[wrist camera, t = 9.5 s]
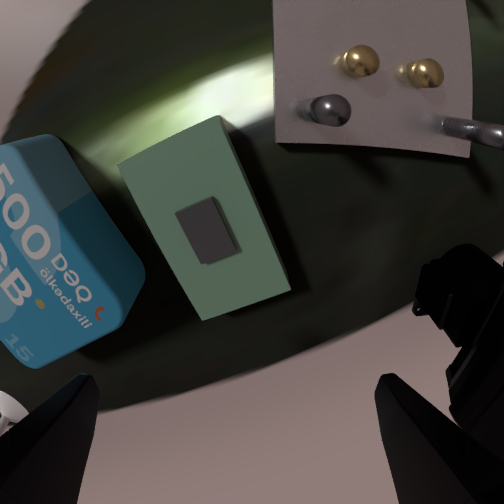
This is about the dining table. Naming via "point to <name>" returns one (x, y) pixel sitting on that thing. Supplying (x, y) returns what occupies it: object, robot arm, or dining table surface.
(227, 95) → the dining table surface
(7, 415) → the champagne flute
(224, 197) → the board
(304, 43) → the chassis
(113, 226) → the data package
